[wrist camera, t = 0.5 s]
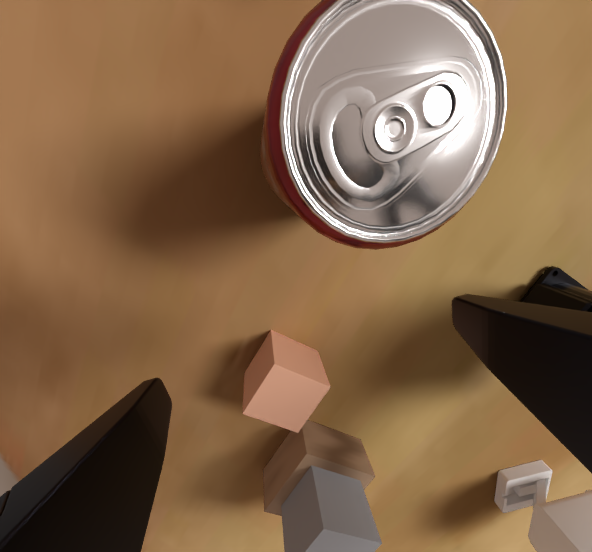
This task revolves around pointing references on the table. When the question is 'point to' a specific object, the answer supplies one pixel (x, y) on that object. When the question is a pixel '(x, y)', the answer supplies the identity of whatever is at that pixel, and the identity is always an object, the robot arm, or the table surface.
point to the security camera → (546, 509)
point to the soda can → (384, 117)
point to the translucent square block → (312, 461)
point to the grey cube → (328, 515)
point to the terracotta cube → (284, 382)
